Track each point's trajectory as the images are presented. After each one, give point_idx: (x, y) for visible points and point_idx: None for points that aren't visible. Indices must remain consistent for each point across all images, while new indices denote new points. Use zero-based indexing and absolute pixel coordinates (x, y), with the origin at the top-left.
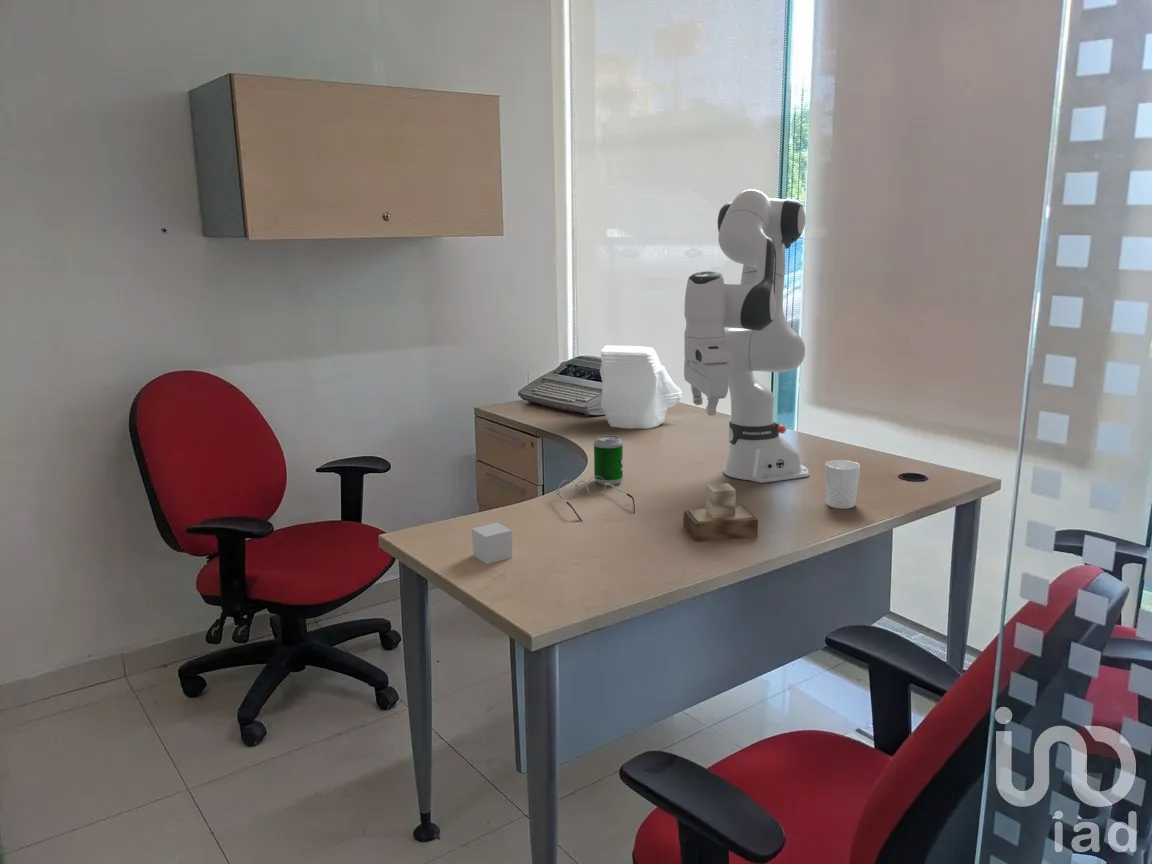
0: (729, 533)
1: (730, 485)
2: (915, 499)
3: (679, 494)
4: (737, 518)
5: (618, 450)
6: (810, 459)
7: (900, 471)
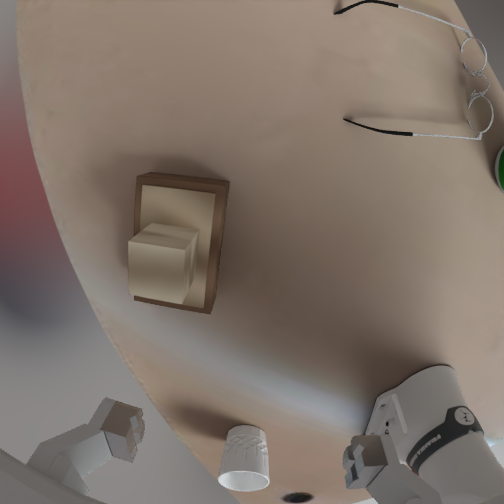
0: None
1: (163, 300)
2: None
3: (408, 259)
4: None
5: None
6: None
7: (319, 497)
